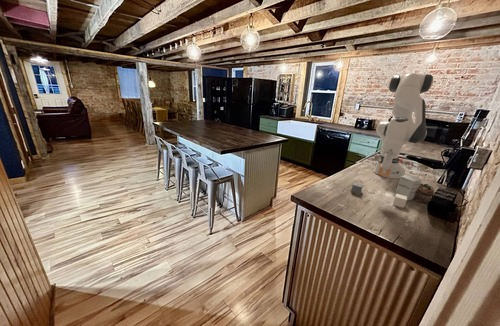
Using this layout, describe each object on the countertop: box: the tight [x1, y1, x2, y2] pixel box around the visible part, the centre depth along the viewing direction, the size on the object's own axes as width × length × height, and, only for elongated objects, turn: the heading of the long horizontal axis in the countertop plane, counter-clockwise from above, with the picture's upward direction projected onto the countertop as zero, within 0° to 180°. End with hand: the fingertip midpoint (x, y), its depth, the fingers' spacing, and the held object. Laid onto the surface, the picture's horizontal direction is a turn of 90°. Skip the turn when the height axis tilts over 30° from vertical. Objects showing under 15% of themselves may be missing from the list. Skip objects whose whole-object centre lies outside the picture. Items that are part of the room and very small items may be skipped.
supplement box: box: [394, 174, 422, 201], centre depth 119 cm, size 7×7×13 cm
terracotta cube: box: [377, 164, 392, 178], centre depth 112 cm, size 5×5×5 cm
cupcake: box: [413, 182, 435, 204], centre depth 117 cm, size 10×10×10 cm
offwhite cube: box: [392, 194, 408, 209], centre depth 112 cm, size 5×5×5 cm
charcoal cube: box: [350, 181, 364, 196], centre depth 123 cm, size 5×5×5 cm
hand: (384, 171), depth 113 cm, fingers closed on terracotta cube, 5 cm apart
